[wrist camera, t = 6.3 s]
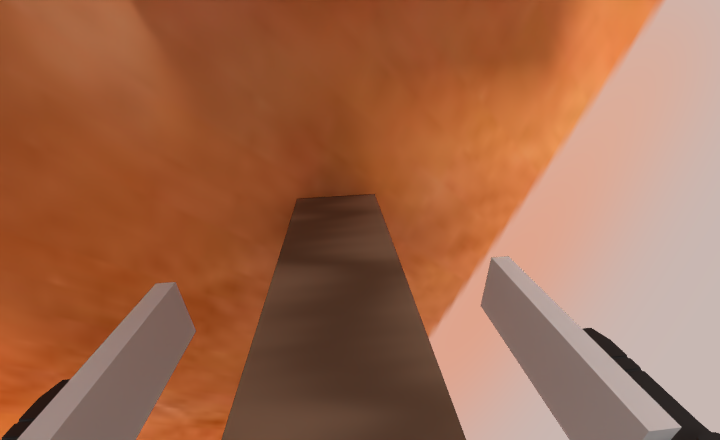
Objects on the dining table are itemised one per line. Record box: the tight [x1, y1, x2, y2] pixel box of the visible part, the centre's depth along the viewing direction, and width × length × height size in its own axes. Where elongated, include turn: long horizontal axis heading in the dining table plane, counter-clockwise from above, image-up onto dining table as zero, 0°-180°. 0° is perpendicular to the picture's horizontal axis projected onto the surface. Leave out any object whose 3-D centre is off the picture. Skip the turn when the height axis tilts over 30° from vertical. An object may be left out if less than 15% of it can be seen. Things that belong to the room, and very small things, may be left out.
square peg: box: [222, 194, 466, 440], centre depth 11 cm, size 4×4×14 cm
